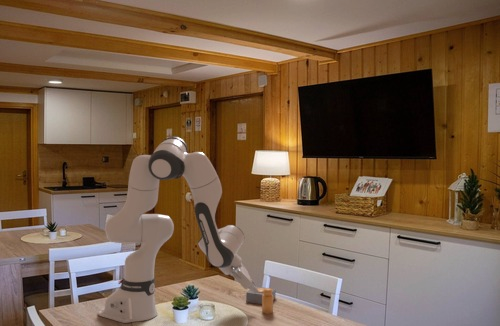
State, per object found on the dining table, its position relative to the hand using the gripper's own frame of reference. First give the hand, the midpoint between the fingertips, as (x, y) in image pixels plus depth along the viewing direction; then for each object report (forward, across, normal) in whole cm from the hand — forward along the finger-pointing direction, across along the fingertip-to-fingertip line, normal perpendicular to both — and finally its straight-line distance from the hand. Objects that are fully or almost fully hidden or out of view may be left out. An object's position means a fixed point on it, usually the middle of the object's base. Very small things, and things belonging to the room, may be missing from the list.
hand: (255, 288), depth 176 cm
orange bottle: (+11, +1, +3) cm, 11 cm away
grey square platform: (+10, +16, +3) cm, 19 cm away
